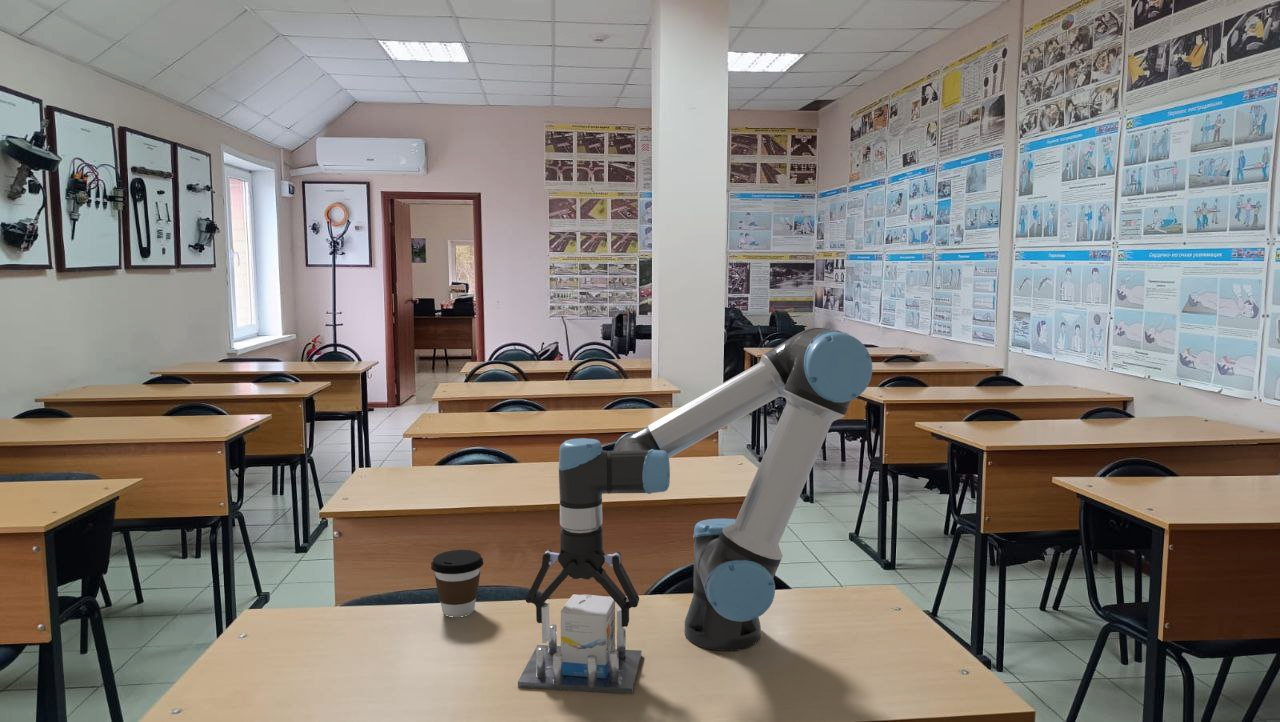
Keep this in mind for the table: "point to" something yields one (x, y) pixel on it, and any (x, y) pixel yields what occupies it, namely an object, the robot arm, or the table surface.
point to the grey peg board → (548, 675)
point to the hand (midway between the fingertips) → (583, 641)
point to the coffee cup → (457, 580)
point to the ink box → (587, 633)
